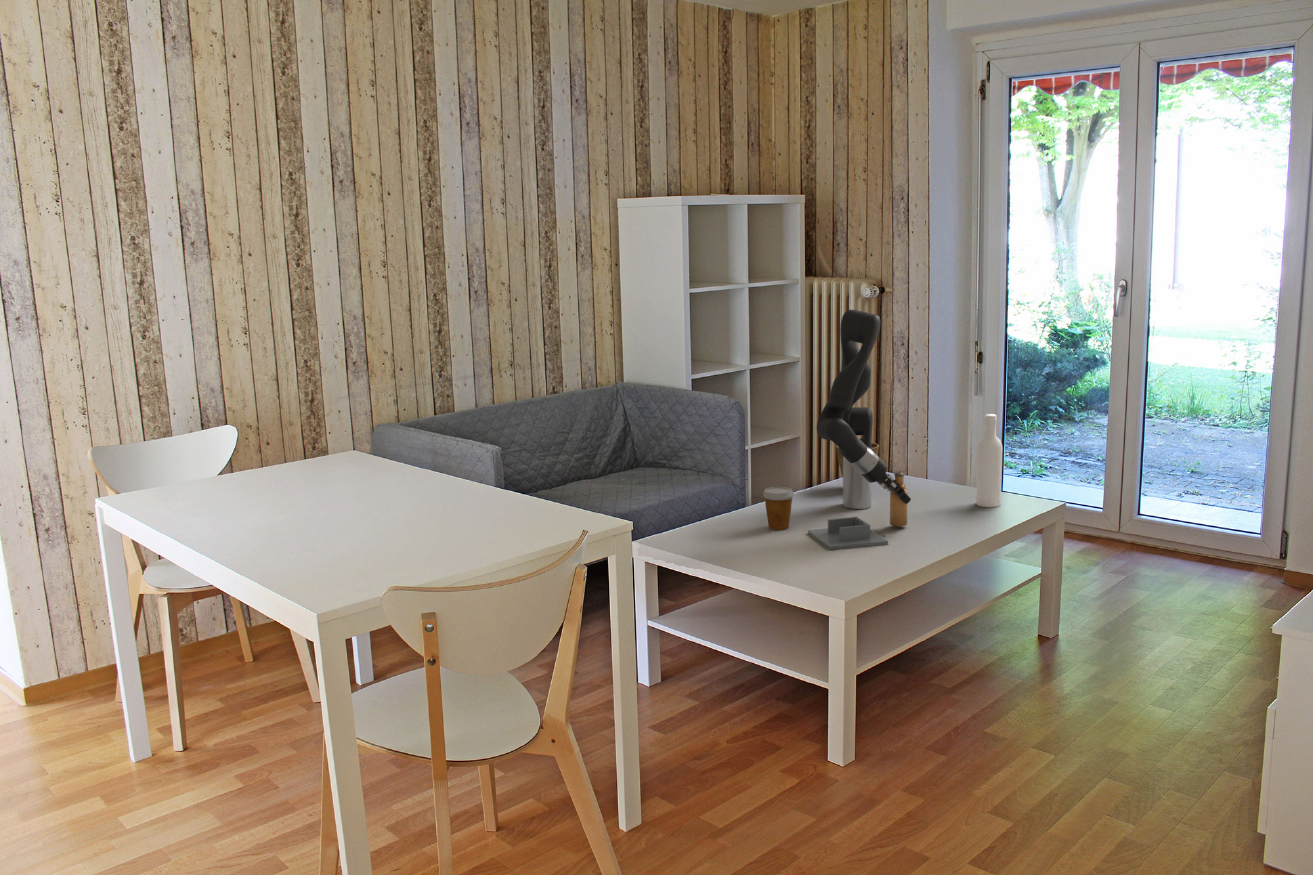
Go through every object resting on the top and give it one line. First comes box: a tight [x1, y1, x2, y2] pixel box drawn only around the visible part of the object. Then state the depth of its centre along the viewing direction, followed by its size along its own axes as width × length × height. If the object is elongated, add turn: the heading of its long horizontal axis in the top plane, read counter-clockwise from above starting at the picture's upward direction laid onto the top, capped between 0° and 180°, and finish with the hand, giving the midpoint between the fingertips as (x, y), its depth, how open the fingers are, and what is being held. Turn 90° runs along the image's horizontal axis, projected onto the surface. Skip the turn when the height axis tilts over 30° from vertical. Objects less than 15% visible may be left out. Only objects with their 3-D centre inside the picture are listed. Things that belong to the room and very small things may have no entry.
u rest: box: [807, 516, 889, 551], centre depth 304 cm, size 18×18×5 cm
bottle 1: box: [889, 471, 909, 527], centre depth 312 cm, size 5×5×16 cm
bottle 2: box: [975, 413, 1003, 508], centre depth 334 cm, size 8×8×30 cm
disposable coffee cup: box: [762, 486, 795, 531], centre depth 317 cm, size 10×10×12 cm
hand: (904, 499), depth 313 cm, fingers closed on bottle 1, 5 cm apart
